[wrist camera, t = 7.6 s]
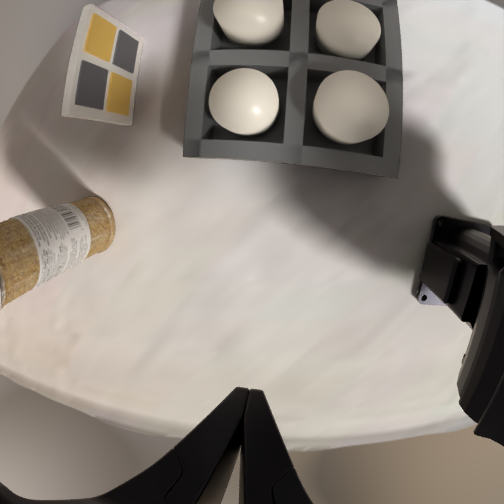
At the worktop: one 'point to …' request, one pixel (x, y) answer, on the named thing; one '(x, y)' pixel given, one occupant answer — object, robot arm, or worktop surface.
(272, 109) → the button
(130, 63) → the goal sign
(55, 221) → the sprinkles bottle
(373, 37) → the button
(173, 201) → the worktop surface
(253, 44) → the button
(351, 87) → the button
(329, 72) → the button board
